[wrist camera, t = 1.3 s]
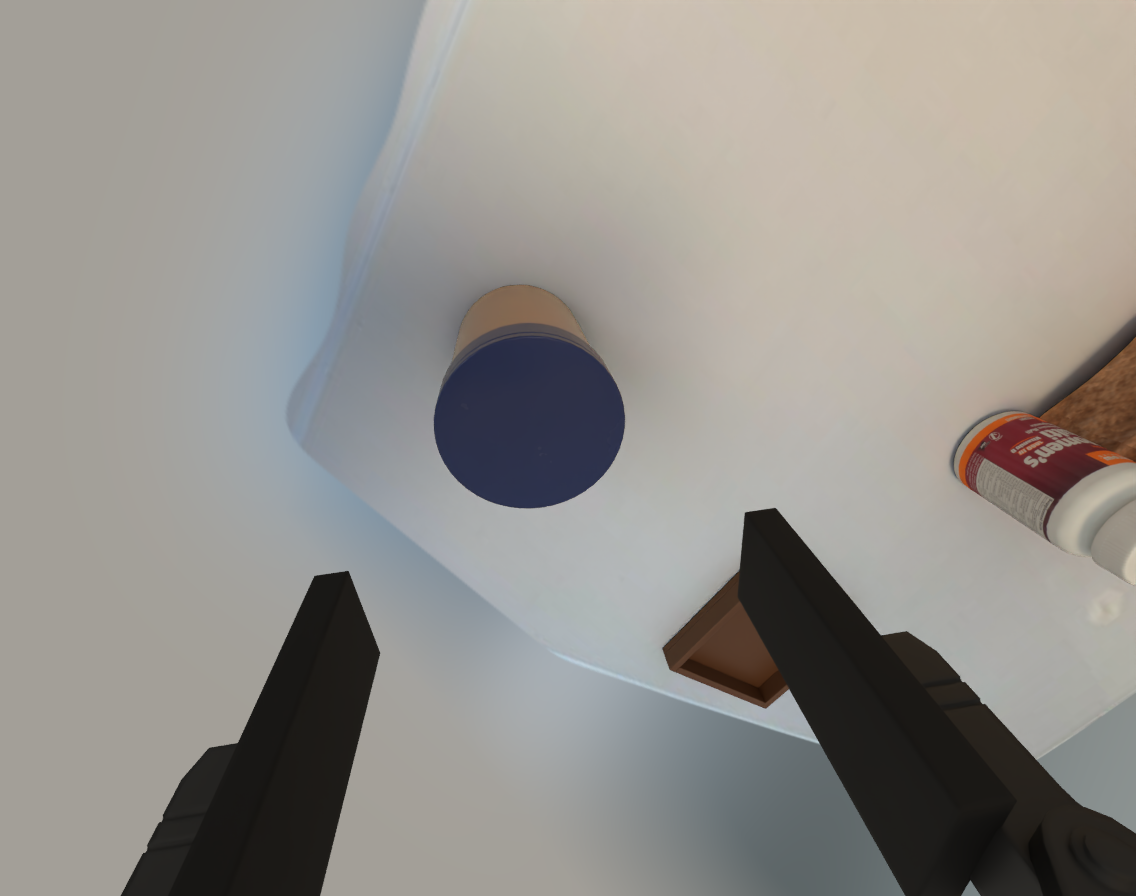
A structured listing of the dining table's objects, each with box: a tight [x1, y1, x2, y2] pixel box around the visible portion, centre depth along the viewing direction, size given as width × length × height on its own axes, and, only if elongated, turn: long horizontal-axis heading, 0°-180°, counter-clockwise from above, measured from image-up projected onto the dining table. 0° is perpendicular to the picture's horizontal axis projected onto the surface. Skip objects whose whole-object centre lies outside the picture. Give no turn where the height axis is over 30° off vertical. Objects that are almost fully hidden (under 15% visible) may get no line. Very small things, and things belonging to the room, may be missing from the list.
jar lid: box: [434, 323, 625, 508], centre depth 21 cm, size 8×7×2 cm
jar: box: [452, 285, 590, 362], centre depth 25 cm, size 7×7×10 cm
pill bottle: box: [954, 411, 1136, 586], centre depth 32 cm, size 6×6×11 cm
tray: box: [663, 571, 789, 709], centre depth 42 cm, size 11×11×2 cm
